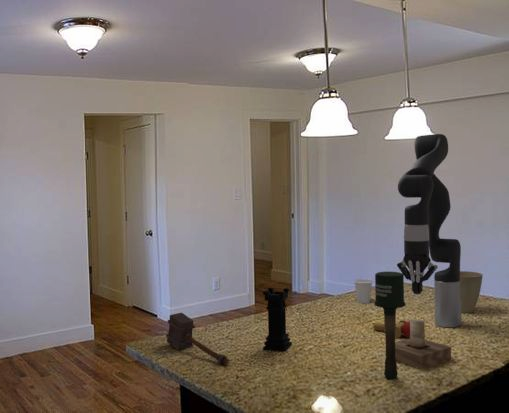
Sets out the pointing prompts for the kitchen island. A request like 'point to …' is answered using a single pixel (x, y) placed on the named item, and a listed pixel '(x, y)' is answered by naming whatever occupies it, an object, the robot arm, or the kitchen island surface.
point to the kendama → (396, 328)
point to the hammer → (187, 336)
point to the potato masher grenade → (389, 312)
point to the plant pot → (469, 290)
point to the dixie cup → (363, 290)
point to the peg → (417, 334)
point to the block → (422, 354)
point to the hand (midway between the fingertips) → (417, 293)
